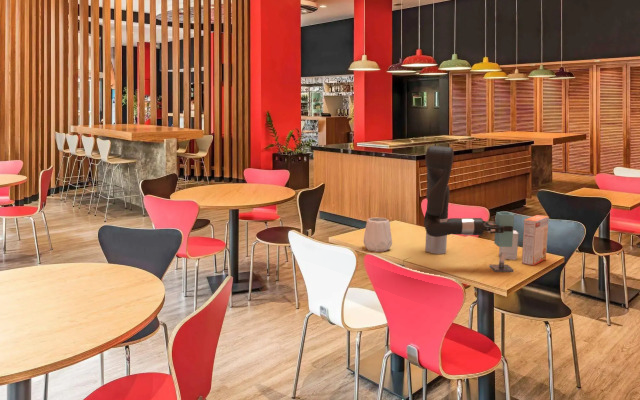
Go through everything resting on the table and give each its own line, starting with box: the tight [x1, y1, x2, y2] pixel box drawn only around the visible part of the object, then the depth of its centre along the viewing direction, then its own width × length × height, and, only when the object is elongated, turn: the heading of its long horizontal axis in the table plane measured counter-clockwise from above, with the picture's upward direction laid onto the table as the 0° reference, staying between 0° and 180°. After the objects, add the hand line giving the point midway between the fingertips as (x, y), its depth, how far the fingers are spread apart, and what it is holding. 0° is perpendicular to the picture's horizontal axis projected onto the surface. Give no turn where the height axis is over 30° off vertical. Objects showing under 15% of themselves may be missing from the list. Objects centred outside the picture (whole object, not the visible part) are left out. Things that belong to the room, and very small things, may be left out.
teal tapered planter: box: [494, 211, 515, 248], centre depth 230 cm, size 6×6×14 cm
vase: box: [363, 217, 393, 253], centre depth 264 cm, size 14×14×15 cm
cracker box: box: [521, 214, 550, 267], centre depth 244 cm, size 14×6×21 cm, turn 134°
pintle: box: [489, 252, 515, 273], centre depth 233 cm, size 8×8×8 cm
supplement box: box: [498, 229, 520, 261], centre depth 251 cm, size 7×7×13 cm
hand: (509, 227), depth 230 cm, fingers closed on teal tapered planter, 5 cm apart
